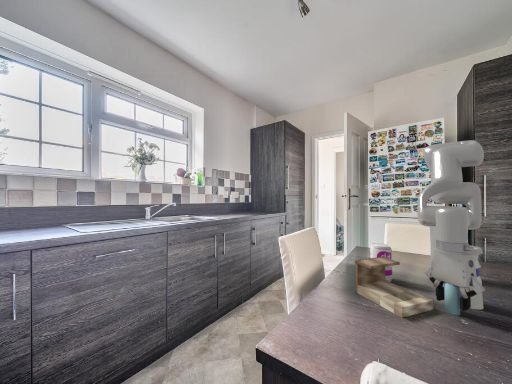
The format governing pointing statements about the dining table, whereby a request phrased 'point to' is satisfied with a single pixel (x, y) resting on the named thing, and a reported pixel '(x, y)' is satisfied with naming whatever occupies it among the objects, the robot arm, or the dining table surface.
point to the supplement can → (382, 251)
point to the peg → (452, 298)
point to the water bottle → (477, 299)
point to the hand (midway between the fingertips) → (452, 304)
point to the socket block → (387, 288)
